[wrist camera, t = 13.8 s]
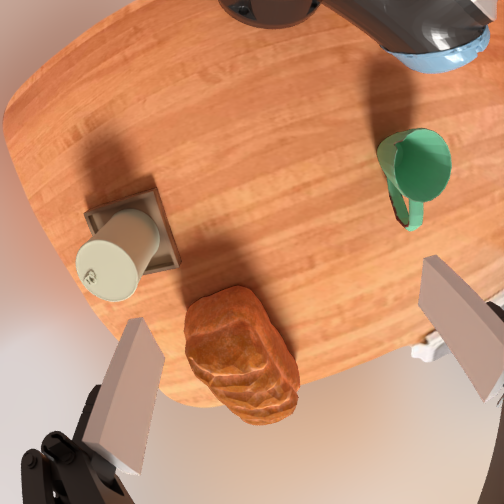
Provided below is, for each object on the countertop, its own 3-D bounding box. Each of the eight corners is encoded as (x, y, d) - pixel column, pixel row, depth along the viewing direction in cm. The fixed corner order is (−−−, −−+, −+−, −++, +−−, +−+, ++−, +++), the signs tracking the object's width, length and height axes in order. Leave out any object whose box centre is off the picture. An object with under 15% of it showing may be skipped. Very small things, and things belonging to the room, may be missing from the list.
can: (97, 224, 43) (61, 258, 32) (140, 198, 41) (109, 228, 30) (126, 269, 46) (100, 312, 36) (170, 248, 45) (151, 290, 34)
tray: (89, 209, 42) (83, 213, 40) (156, 187, 41) (153, 191, 39) (116, 275, 48) (112, 281, 46) (181, 261, 47) (179, 267, 45)
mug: (361, 121, 38) (393, 126, 29) (415, 124, 38) (453, 131, 29) (361, 213, 44) (388, 239, 35) (412, 210, 44) (444, 233, 35)
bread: (249, 275, 49) (252, 340, 35) (302, 367, 60) (314, 426, 46) (179, 304, 51) (162, 369, 37) (244, 386, 62) (246, 443, 48)
